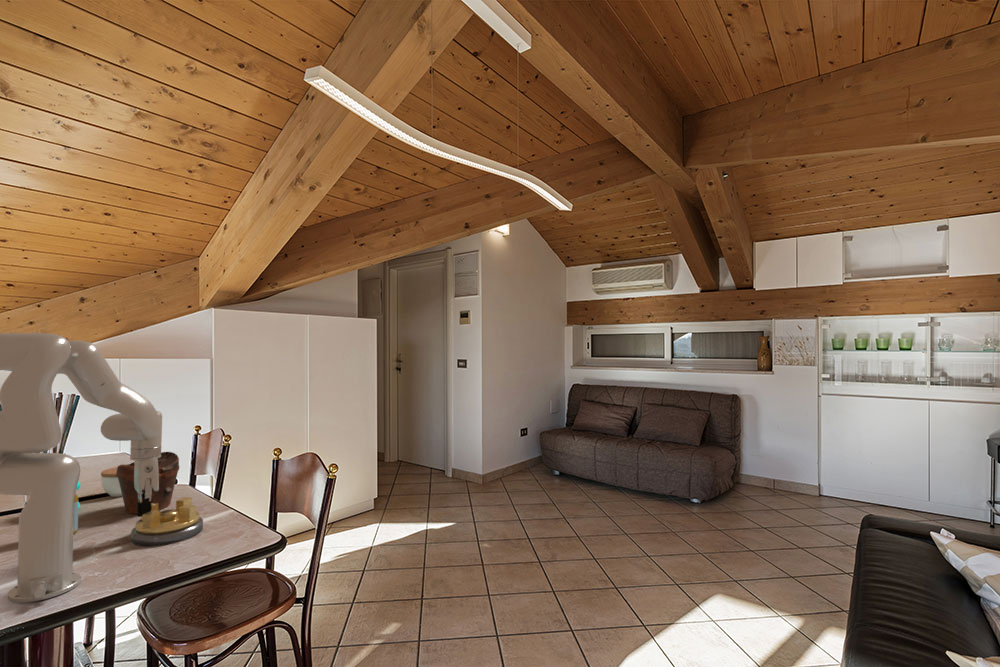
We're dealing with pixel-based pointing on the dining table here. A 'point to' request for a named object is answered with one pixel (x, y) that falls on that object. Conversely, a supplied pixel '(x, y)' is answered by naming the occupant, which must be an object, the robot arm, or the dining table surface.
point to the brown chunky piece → (163, 496)
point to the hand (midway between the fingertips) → (144, 515)
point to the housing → (166, 536)
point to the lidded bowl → (111, 482)
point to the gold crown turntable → (168, 518)
